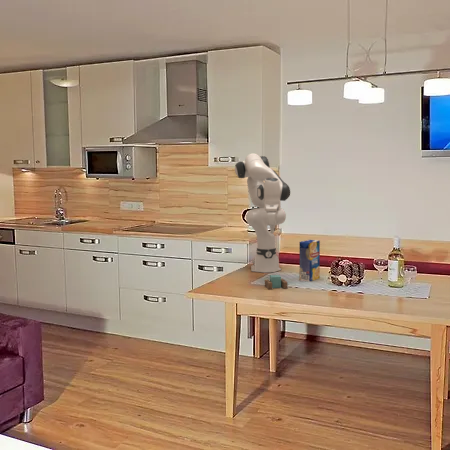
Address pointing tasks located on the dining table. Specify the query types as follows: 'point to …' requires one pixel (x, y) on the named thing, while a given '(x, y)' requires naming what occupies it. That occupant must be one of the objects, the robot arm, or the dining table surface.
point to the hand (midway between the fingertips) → (272, 232)
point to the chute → (269, 285)
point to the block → (275, 281)
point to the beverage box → (309, 260)
